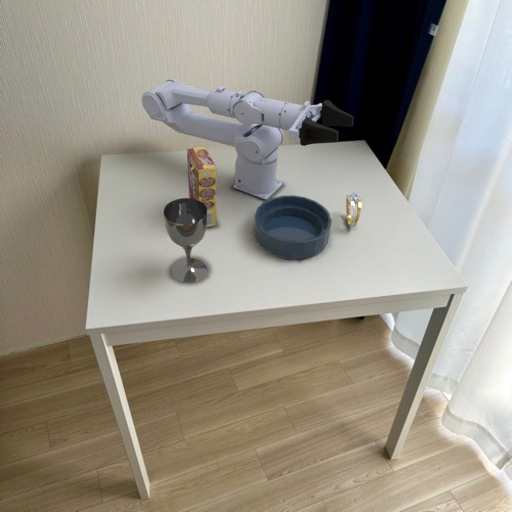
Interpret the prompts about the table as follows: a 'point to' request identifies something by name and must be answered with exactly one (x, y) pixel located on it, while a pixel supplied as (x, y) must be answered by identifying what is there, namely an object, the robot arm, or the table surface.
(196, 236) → the wine glass
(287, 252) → the bowl
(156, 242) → the table surface
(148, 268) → the table surface
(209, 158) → the candy box
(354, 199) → the ring
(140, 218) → the table surface
